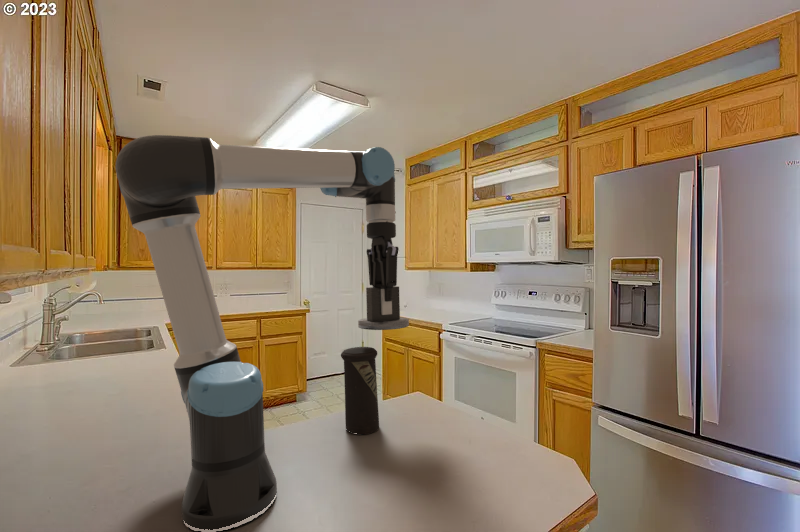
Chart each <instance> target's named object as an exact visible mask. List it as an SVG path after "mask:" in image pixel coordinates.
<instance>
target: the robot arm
mask: <svg viewBox="0 0 800 532" xmlns="http://www.w3.org/2000/svg"><path fill="white" fill-rule="evenodd" d="M394 160H395V159H394V158H393V156H392V154H391V153H390V152H389V151H388V150H387V149H385V148H383V147H381V146H374V147H372V148H371V147H370V148H367V149H365V150H363V151H359V150H358V151H357V150H333V149H318V148H317V149H312V148H297V147H295V148H294V147H278V146H277V147H276V146H275V147H274V146H273V147H272V146H255V145H239V144H238V145H237V144H219V143H216V142H215V141H213V140H212V138H210V137H204V136H202V137H200V136H186V135H185V136H184V135H166V134H165V135H164V134H162V135H161V134H160V135H159V134H154V135H145V136H140V137H137V138H135V139H132V140H131V141H129V142H128V143H126V144H125V145H124V146H123V147H122V148H121V150H120V151H119V153H118V155H117V157H116V161H115V173H116V177H117V180H118V186H119V189H120V194H121V195H122V197H123V199H124V202H125V206H126V210H127V212H128V216H129V219H130V222H131V223H130V224H131V225H132V228H134V229H135V230H137V231H139V232H141V233H143V235H144V237H145V240H146V243H147V247H148V251H149V253H150V257H151V260H152V264H153V267H154V271H155V275H156V277H157V280H158V284H159V287H160V291H161V295H162V298H163V301H164V304H165V308H166V312H167V316H168V318H169V321H170V325H171V329H172V332H173V336H174V338H175V342H176V346H177V349H178V352H179V355H178V357H177V358H176V361H175V362H174V364H173V367H174V371H175V374H176V379H177V381H178V384H179V388H180V395H181V397H182V402H183V403H184V405H185V409H186V412H187V416H188V419H189V436H190V453H191V471H190V474H189V477H188V481H187V484H186V487H185V491H184V494H183V497H182V501H181V507H180V508H181V519H182V518H183V520H184V521H185V523H187V524H188V525H190V526H192V527H195V528H199V529H204V530H205V529H208V530H209V529H210V530H213V529H219V528H222V527H226V526H230V525H232V524H235V523H237V522H240V521H242V520H244V519H246V518H248V517H250V516H252V515H255V514H257V513H258V512H260V511H262V510H263V509H264V508H266V507H267V506H268V505H269V504H270V503H271V501H272V500H273V499H274V497H275V495H276V493H277V494H278V486H277V483H278V482H277V479H276V476H275V473H274V470H273V468H272V466H271V464H270V460H269V459H268V456H267V453H266V447H265V445H266V443H265V421H264V420H265V419H264V398H263V397H264V396H263V394H264V393H263V392H264V382H263V379H262V374H261V371H260V369H259V368H258V367H257V366H256V365H254V364H252V363H249V362H242V361H241V357H240V354H239V350H238V346H237V344H235V343H234V342H231V341H229V340H228V339H227V337H226V333H225V330H224V327H223V323H222V319H221V316H220V312H219V308H218V306H217V302H216V301H217V300H216V298H215V294H214V290H213V287H212V283H211V280H210V276H209V273H208V269H207V265H206V261H205V259H204V254H203V251H202V248H201V247H202V246H201V244H200V240H199V236H198V233H197V230H196V229H197V228H196V224H197V222H198V221H199V219H200V218H201V212H200V209H199V204H198V201H197V197H198V196H214V195H215V196H216V194H218V193H219V191H220V190H227V189H229V190H232V189H233V190H234V189H235V190H236V189H237V190H238V189H240V190H241V189H312V188H313V189H315V188H316V189H317V188H318V189H320V191H321V192H322V193H323V195H325V196H330V197H335V198H337V197H339V198H354V199H365V214H366V215H365V218H366V219H365V220H366V222H368V223H367V224H366V237H367V238H368V239H371V245H370V246H371V248H370V249H369V248H367V249H366V255H367V256H366V257H367V267H368V279H369V286H371V287H380V289H381V315H388V314H392V288H393V286H397V285H398V283H397V282H398V280H397V279H398V255H399V246H395V245H393V240H392V239H393V238H396V237H397V227H396V226H397V225H396V223H394V222H396V214H397V212H396V185H395V184H396V183H395V182H396V177H395V170H396V167H395V166H396V165H395V161H394Z"/></svg>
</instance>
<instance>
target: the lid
mask: <svg viewBox="0 0 800 532" xmlns="http://www.w3.org/2000/svg"><path fill="white" fill-rule="evenodd" d="M365 289H366V290H365V292H366V294H365V296H366V318H361V319H358V321H357V322H358V328H359V329H361V330H369V331H371V330H372V331H387V330H388V331H389V330H390V331H391V330H398V329H399V330H400V329H404V328H407V327H409V326H410V319H409V318H407V317H401V312H400V311H401V310H400V309H401V308H400V286H397V285H396V286H393V288H392V314H388V315H381V289H380V287H373V286H371V287H366V288H365Z"/></svg>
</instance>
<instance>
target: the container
mask: <svg viewBox="0 0 800 532" xmlns="http://www.w3.org/2000/svg"><path fill="white" fill-rule="evenodd" d="M340 356H341V359H342V360H343V372H344V373H343V375H344V407H345V409H344V411H345V416H344V417H345V421H344V422H345V430H346V429H347V430H348V431H350V432H352V433H357V434H364V435H369V434H373V433H376V432H377V431H378V430H379V429H380V418H379V417H380V416H379V402H378V401H379V400H378V386H377V385H378V383H377V382H378V381H377V366H376V365H377V364H376V358H377V356H378V351H377V350H376V349H375V348H373V347H370V346H355V347H354V346H353V347H350V348H349V347H348V348H346V349H344V350H343V351H342V352H341V353H340ZM347 430H346V431H347ZM348 431H347V432H348ZM352 433H351V434H352ZM357 434H356V435H357Z"/></svg>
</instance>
